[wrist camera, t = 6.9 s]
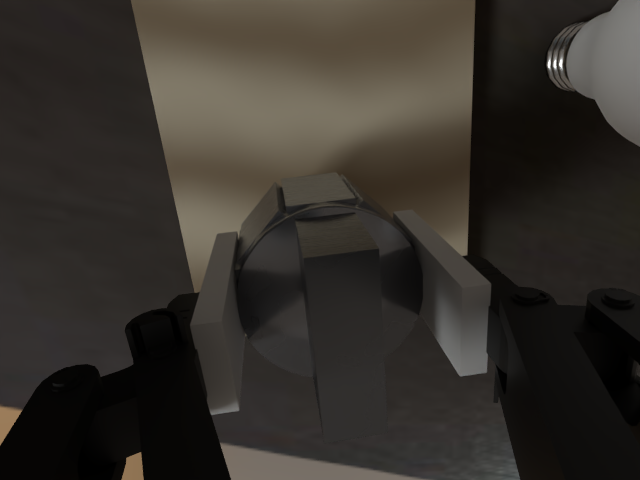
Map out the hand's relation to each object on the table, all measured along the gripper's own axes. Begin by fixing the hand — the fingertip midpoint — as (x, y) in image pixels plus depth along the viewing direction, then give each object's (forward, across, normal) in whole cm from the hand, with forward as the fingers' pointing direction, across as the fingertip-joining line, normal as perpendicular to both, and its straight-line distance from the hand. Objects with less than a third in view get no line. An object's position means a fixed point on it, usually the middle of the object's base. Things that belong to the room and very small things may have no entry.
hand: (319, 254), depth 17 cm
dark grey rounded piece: (+1, 0, 0) cm, 1 cm away
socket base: (+6, +1, +2) cm, 6 cm away
